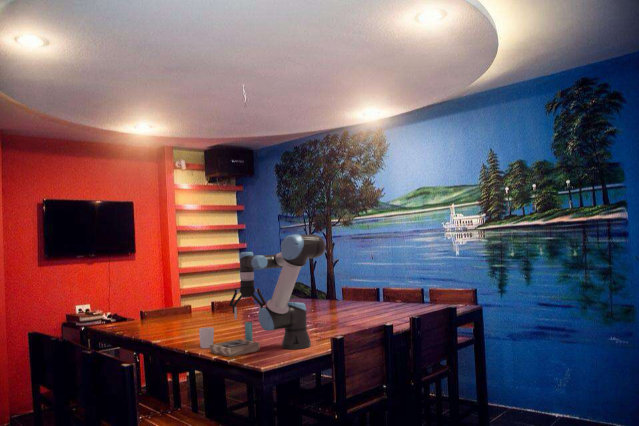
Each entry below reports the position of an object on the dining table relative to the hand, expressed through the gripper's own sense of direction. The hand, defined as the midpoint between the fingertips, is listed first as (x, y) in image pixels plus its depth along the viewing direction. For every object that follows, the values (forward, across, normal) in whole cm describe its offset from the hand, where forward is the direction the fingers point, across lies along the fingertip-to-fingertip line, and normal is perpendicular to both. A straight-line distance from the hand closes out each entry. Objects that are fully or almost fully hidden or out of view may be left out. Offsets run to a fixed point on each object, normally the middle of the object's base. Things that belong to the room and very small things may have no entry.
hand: (248, 318), depth 258 cm
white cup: (+14, +22, +3) cm, 27 cm away
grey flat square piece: (+14, +4, +17) cm, 22 cm away
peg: (+14, 0, 0) cm, 14 cm away
